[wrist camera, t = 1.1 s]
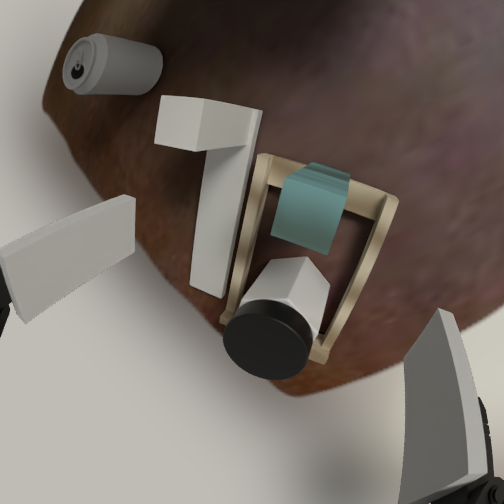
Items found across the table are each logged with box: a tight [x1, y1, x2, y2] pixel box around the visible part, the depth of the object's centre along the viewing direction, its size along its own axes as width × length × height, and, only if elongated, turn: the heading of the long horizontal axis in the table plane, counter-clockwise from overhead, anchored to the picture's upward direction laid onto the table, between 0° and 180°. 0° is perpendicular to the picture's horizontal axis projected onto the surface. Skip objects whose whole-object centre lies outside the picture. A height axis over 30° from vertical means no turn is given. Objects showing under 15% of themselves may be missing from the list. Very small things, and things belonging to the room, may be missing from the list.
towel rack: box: [219, 153, 399, 364], centre depth 26 cm, size 22×14×12 cm
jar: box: [223, 257, 330, 380], centre depth 29 cm, size 9×8×12 cm
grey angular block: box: [154, 95, 263, 299], centre depth 28 cm, size 24×5×11 cm, turn 167°
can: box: [63, 33, 163, 95], centre depth 24 cm, size 8×8×12 cm
